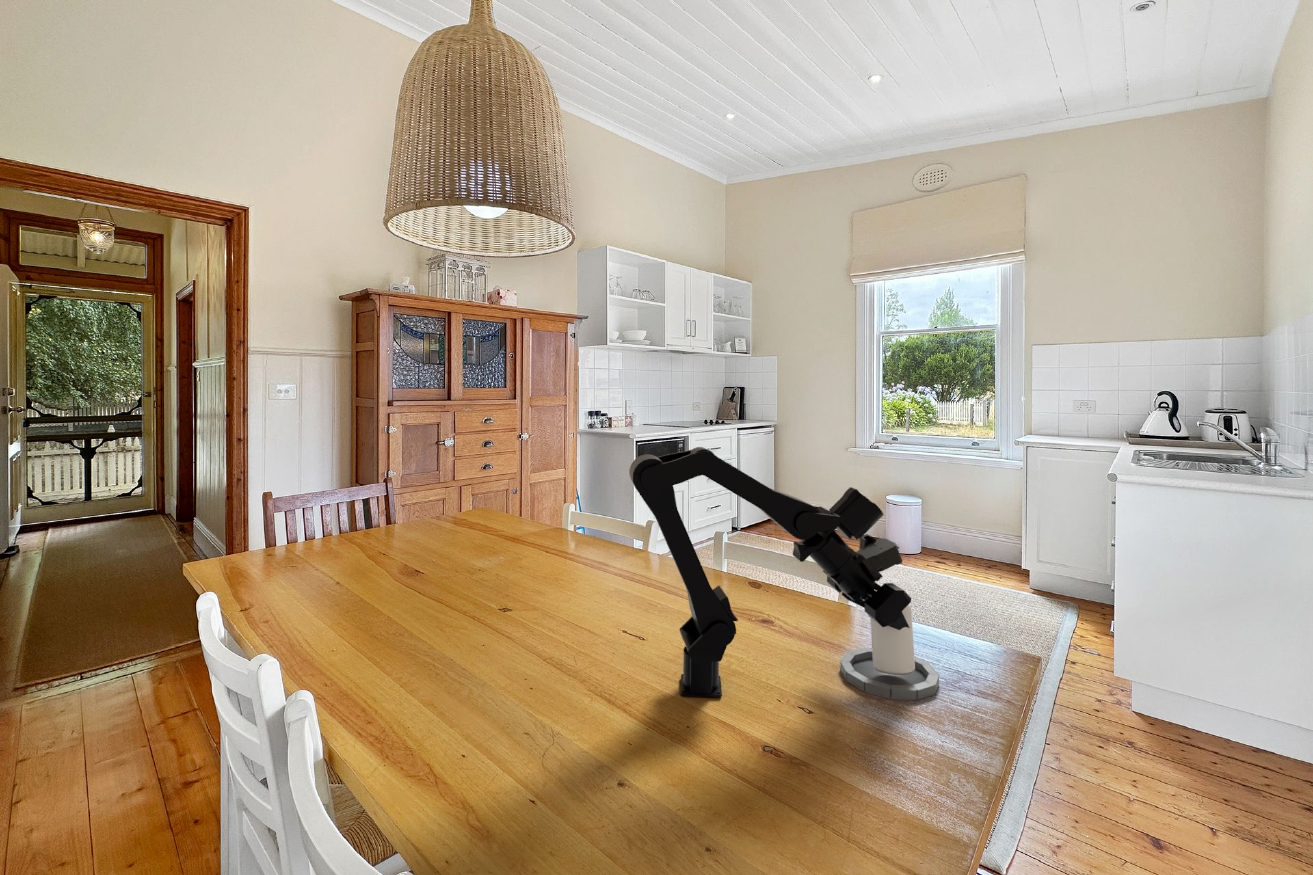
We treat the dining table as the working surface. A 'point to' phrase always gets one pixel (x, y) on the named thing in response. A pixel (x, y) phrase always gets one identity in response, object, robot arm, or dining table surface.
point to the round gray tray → (888, 677)
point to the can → (893, 647)
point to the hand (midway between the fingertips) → (896, 622)
